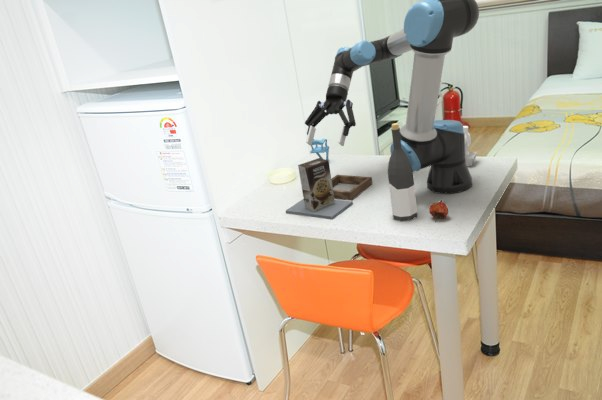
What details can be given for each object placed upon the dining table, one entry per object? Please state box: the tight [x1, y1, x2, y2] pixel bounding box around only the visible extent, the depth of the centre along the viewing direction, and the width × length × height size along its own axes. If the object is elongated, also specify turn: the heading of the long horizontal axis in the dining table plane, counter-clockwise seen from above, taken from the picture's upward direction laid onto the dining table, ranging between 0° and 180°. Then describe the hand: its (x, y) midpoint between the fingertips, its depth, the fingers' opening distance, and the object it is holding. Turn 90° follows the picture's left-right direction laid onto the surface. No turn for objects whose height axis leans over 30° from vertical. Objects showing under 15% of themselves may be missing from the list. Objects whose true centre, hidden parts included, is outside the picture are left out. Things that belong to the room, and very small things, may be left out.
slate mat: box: [285, 198, 354, 220], centre depth 180 cm, size 20×13×1 cm, turn 54°
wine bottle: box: [387, 122, 418, 222], centre depth 157 cm, size 8×8×30 cm
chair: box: [309, 138, 330, 162], centre depth 225 cm, size 8×8×12 cm
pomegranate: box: [428, 199, 449, 223], centre depth 155 cm, size 6×6×8 cm
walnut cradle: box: [331, 174, 373, 201], centre depth 191 cm, size 15×15×3 cm
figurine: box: [463, 125, 478, 167], centre depth 193 cm, size 7×9×15 cm
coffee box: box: [297, 157, 336, 212], centre depth 176 cm, size 9×6×16 cm
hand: (324, 144), depth 180 cm, fingers open, 13 cm apart
